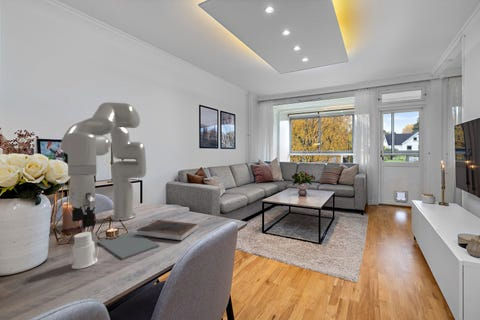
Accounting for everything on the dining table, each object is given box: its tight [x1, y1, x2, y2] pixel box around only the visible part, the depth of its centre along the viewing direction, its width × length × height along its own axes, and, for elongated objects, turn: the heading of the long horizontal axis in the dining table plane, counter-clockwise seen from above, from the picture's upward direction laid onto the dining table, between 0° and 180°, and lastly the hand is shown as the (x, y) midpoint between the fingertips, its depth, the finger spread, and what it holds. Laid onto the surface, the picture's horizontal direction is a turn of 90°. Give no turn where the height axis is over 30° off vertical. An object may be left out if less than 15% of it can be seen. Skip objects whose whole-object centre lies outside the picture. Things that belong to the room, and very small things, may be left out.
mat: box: [97, 231, 160, 261], centre depth 88 cm, size 22×14×1 cm, turn 52°
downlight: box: [69, 231, 100, 270], centre depth 73 cm, size 8×7×10 cm
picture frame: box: [135, 219, 199, 241], centre depth 102 cm, size 16×2×22 cm
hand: (83, 223), depth 72 cm, fingers open, 9 cm apart
